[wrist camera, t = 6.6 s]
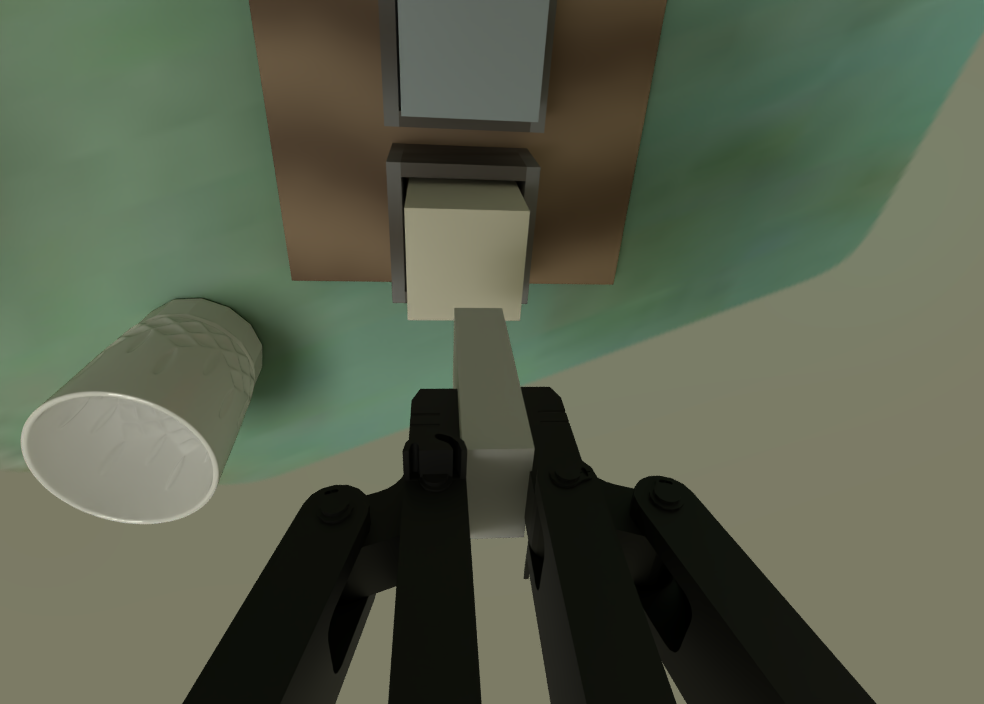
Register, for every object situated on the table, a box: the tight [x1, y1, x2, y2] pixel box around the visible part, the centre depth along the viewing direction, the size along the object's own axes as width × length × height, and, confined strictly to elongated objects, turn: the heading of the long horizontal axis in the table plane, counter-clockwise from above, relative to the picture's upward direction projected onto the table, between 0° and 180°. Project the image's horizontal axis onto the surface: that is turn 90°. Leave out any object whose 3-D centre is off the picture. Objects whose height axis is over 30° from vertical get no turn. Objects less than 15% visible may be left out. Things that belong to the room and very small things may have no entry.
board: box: [249, 0, 667, 304], centre depth 23 cm, size 24×18×5 cm
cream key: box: [404, 177, 530, 321], centre depth 24 cm, size 5×5×5 cm
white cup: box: [21, 298, 262, 524], centre depth 28 cm, size 8×8×10 cm
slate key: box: [398, 0, 549, 122], centre depth 20 cm, size 5×5×5 cm
